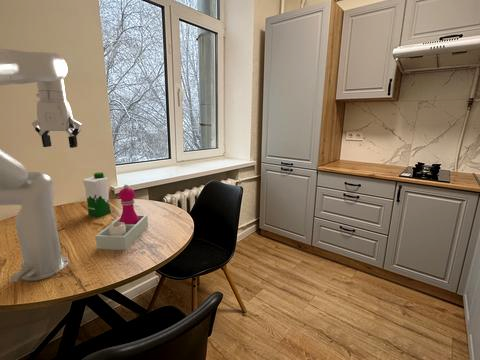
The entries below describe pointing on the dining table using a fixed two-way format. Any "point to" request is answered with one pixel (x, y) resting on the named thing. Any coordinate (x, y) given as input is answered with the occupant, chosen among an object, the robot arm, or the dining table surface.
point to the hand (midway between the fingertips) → (60, 147)
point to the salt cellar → (117, 229)
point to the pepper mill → (128, 206)
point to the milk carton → (97, 195)
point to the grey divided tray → (121, 241)
